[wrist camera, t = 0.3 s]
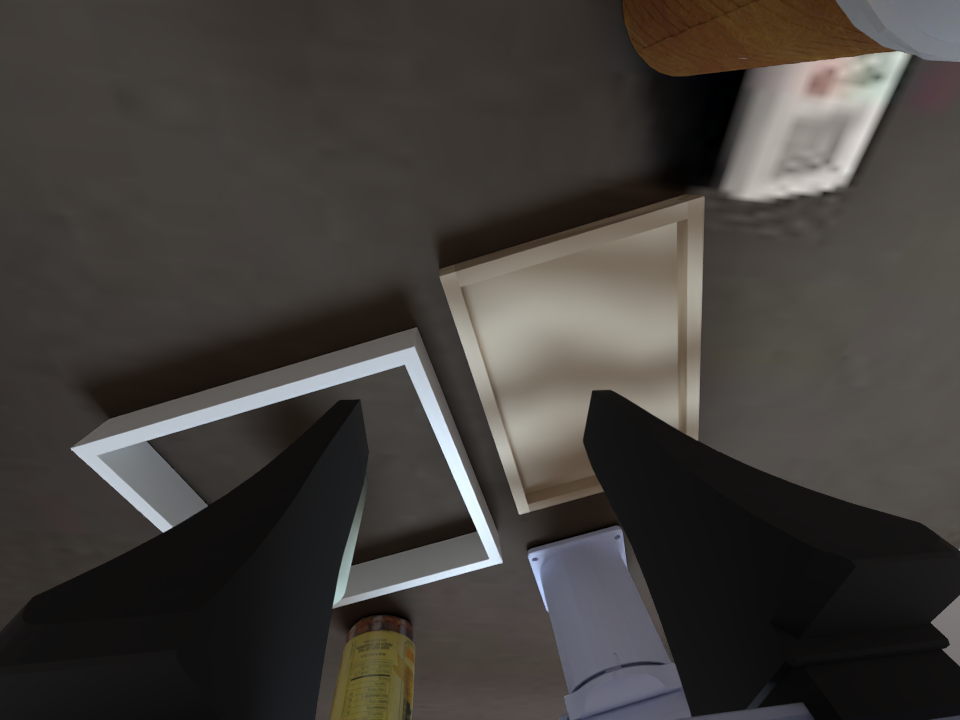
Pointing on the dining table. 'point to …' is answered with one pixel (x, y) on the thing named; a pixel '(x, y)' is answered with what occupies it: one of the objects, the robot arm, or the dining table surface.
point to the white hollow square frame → (171, 500)
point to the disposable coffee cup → (786, 31)
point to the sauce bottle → (376, 671)
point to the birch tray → (582, 337)
